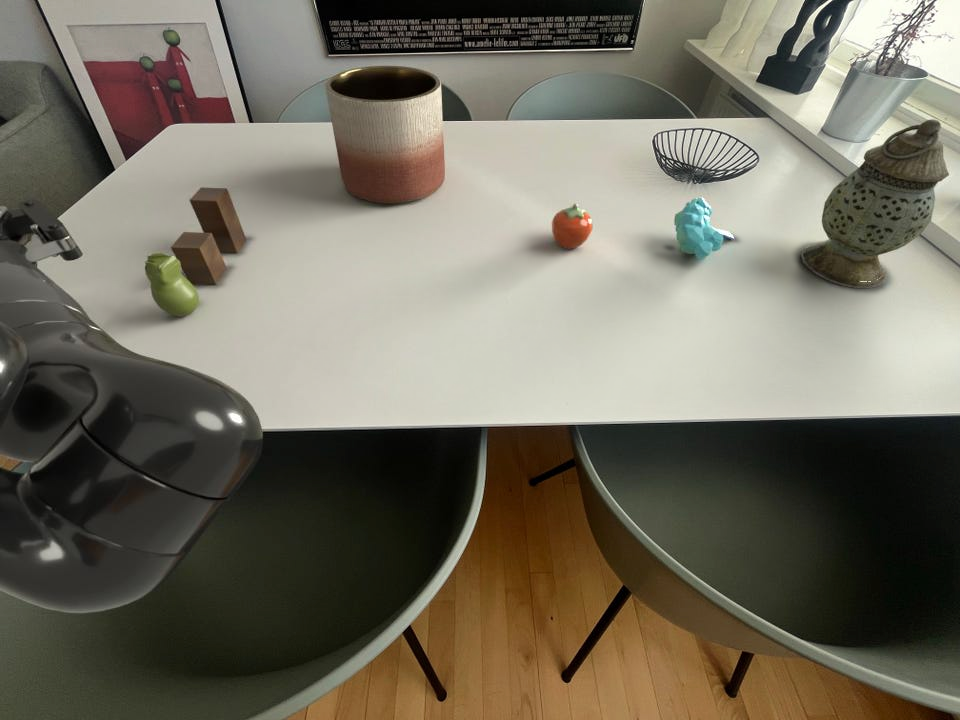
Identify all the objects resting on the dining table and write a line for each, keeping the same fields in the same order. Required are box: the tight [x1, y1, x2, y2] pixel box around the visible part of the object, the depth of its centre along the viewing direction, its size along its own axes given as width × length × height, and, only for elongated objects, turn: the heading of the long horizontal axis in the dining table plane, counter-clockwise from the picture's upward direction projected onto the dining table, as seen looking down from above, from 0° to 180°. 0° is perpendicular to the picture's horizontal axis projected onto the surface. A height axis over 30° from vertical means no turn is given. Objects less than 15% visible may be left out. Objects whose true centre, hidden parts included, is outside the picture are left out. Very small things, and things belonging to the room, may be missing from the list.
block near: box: [170, 231, 228, 286], centre depth 78 cm, size 4×4×7 cm
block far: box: [189, 187, 247, 254], centre depth 83 cm, size 4×4×10 cm
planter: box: [324, 65, 446, 205], centre depth 98 cm, size 22×22×20 cm
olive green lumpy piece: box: [144, 252, 200, 317], centre depth 71 cm, size 6×5×10 cm
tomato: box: [551, 203, 594, 249], centre depth 87 cm, size 7×7×8 cm
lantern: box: [800, 118, 950, 289], centre depth 78 cm, size 14×14×25 cm
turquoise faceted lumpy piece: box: [673, 196, 735, 261], centre depth 89 cm, size 11×9×15 cm
